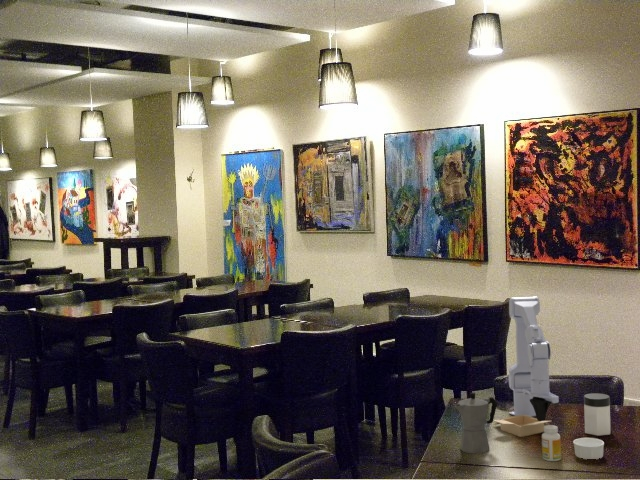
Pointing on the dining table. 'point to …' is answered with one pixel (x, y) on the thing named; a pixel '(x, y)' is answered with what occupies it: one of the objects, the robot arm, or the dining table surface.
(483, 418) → the coffeepot
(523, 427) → the carton
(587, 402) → the jar
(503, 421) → the flap
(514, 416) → the flap
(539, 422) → the flap
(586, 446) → the ramekin
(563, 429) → the dining table surface
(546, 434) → the supplement bottle
